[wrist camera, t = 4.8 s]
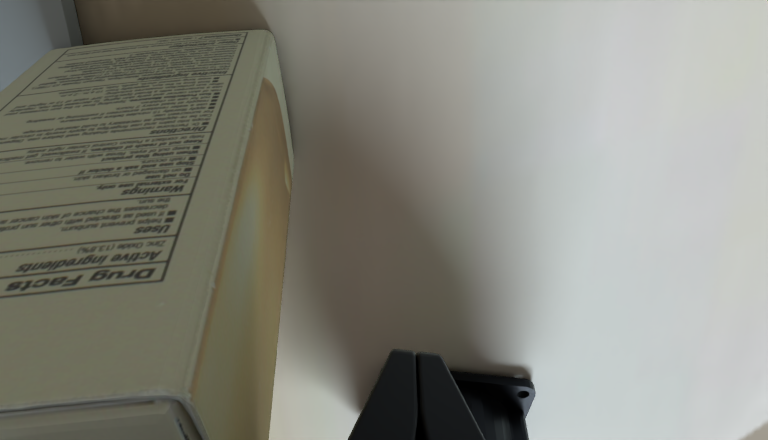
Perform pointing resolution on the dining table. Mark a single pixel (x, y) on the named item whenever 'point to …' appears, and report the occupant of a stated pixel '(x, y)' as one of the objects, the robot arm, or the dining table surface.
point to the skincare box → (143, 239)
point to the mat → (34, 33)
